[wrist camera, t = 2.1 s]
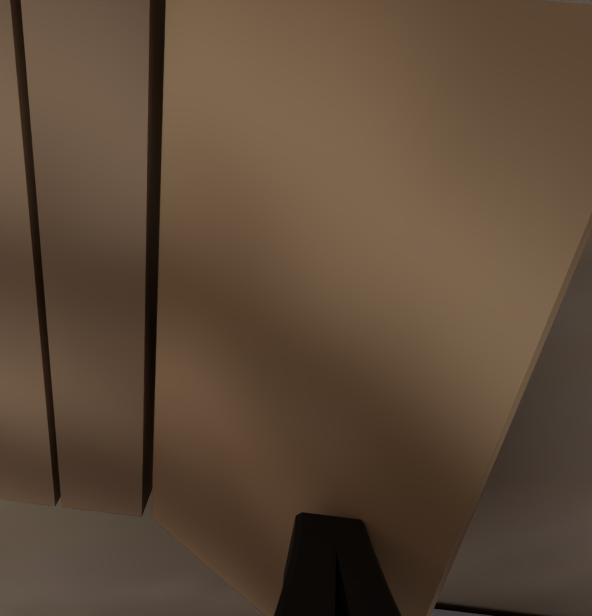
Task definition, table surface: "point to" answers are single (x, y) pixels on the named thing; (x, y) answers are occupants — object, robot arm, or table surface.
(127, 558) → the table surface
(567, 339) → the table surface
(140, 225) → the laid row
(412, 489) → the board
